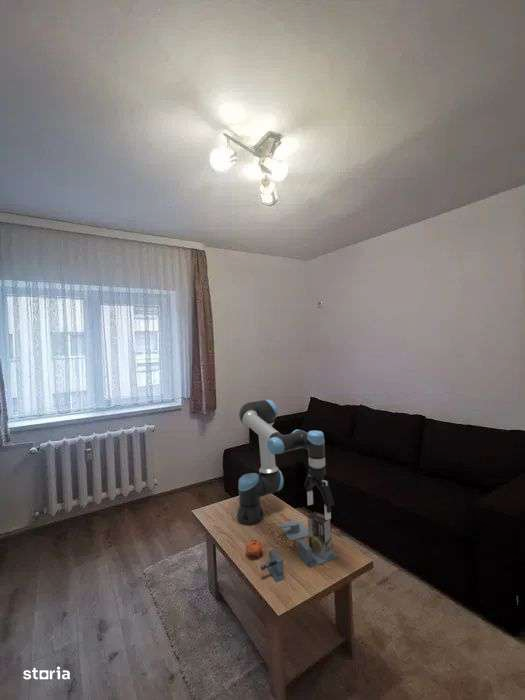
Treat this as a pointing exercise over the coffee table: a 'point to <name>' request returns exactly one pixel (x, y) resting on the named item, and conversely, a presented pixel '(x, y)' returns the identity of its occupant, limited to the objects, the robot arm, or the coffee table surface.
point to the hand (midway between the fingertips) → (318, 511)
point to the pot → (254, 547)
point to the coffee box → (320, 535)
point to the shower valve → (294, 530)
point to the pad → (322, 560)
